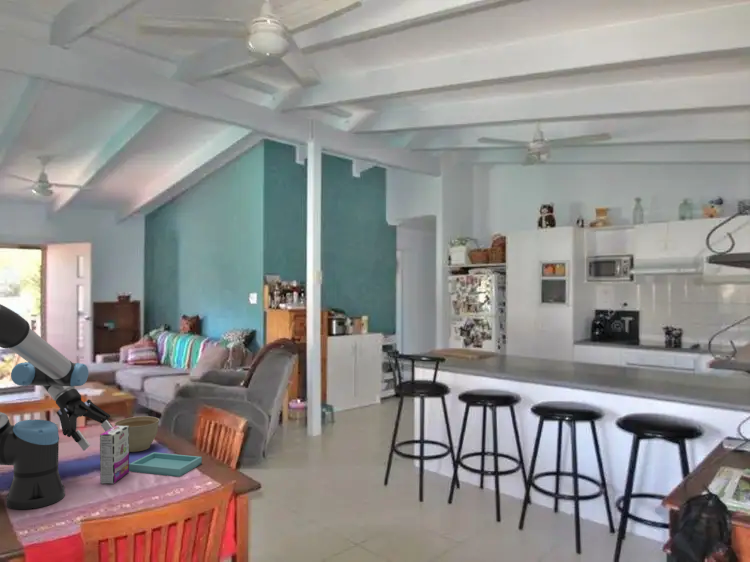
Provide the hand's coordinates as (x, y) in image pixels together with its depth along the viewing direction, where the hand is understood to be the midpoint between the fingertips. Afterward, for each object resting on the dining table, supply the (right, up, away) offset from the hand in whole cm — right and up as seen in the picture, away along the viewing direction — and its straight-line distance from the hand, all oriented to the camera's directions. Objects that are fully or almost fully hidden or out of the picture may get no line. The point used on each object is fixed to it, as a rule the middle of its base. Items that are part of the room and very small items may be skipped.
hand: (101, 442), depth 194 cm
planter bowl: (0, -11, +29) cm, 31 cm away
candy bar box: (+6, -11, -4) cm, 13 cm away
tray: (+19, -11, +7) cm, 24 cm away
